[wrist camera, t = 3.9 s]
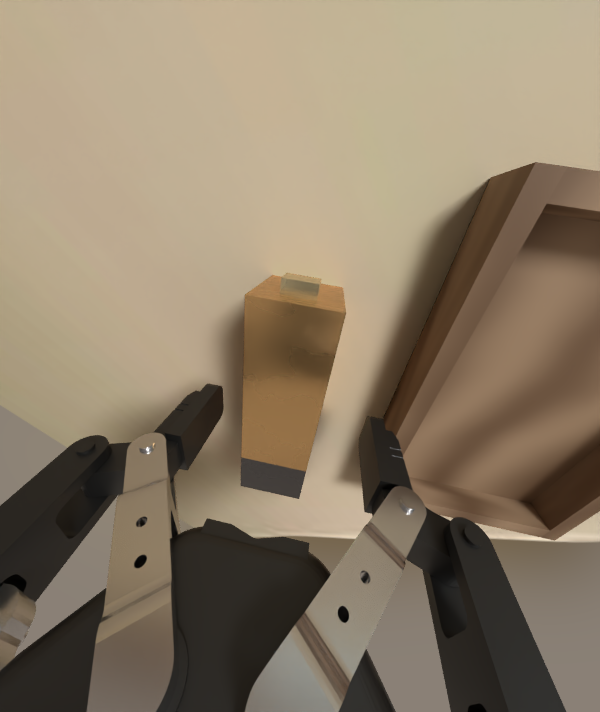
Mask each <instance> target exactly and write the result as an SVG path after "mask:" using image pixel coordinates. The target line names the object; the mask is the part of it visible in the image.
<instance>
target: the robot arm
mask: <svg viewBox="0 0 600 712" xmlns="http://www.w3.org/2000/svg"><path fill="white" fill-rule="evenodd" d="M222 413H223V389H222V386H218V385H213V384H207V385H205V387H204V388H203V389H202V390H201V391H200V392H199V391H195V392H193V393H191V394H190V395H188V396H187V397H186V398H185V399H184V400H183V401H182V402H181V404H179V405H178V406H177V407H176V408H175V410H174V411H173V412H172V413H171V414H170V415H169V416H168V417H167V418H166V419H165V420H164V422H163V423H162V424H161V425H160V426H159V427H158V428H157V429H156V430H155V431H154V432H153V433H147V434H144V435H141V436H140V437H138V438H136V439H135V440H134V441H132V442H130V443H117V444H109V442H108V440H107V438H106V437H104V436H100V435H94V436H89V437H86V438H83V439H80V440H78V441H77V442H75V443H73V444H72V445H71V446H69V447H68V448H67V449H66V450H65V451H64V452H62V453H61V454H60V455H59V456H58V457H57V458H55V459H54V460H53V461H52V462H51V463H50V464H48V465H47V466H46V467H45V468H44V469H43V470H41V471H40V472H39V473H38V474H37V475H36V476H34V477H33V478H32V479H31V480H30V481H29V482H27V483H26V484H25V485H24V486H23V487H22V488H20V489H19V490H18V491H17V492H16V493H15V494H13V495H12V496H11V497H10V498H9V499H8V500H7V501H5V502H4V503H3V504H2V505H1V506H0V712H396V711H395V709H394V707H393V705H392V703H391V701H390V699H389V696H388V694H387V692H386V690H385V688H384V686H383V683H382V682H381V679H380V677H379V675H378V673H377V671H376V668H375V666H374V664H373V662H372V660H371V658H370V656H369V654H368V651H367V649H366V648H367V646H368V643H369V641H370V639H371V637H372V635H373V633H374V631H375V629H376V627H377V625H378V622H379V620H380V618H381V616H382V614H383V612H384V610H385V608H386V606H387V603H388V601H389V599H390V597H391V595H392V593H393V591H394V588H395V587H396V585H397V582H398V580H399V578H400V576H401V574H402V572H403V569H404V567H405V560H406V559H407V560H408V561H410V562H411V563H413V564H415V565H416V566H418V567H419V568H421V569H422V570H423V575H424V579H425V584H426V589H427V594H428V599H429V604H430V609H431V614H432V619H433V624H434V629H435V634H436V639H437V644H438V649H439V654H440V659H441V664H442V669H443V674H444V679H445V684H446V689H447V694H448V699H449V704H450V709H451V712H566V710H565V708H564V706H563V703H562V701H561V699H560V697H559V694H558V692H557V690H556V688H555V685H554V683H553V681H552V679H551V676H550V674H549V672H548V669H547V667H546V665H545V663H544V660H543V659H542V656H541V654H540V651H539V649H538V647H537V645H536V642H535V640H534V638H533V636H532V633H531V631H530V629H529V626H528V624H527V622H526V620H525V617H524V615H523V613H522V611H521V608H520V606H519V604H518V602H517V599H516V597H515V595H514V593H513V590H512V588H511V586H510V583H509V581H508V579H507V577H506V574H505V572H504V570H503V568H502V566H501V563H500V561H499V559H498V556H497V554H496V552H495V550H494V547H493V545H492V543H491V541H490V539H489V538H488V536H487V535H486V534H485V532H484V531H483V530H482V529H481V528H480V527H479V526H478V525H476V524H475V523H473V522H472V521H470V520H468V519H466V518H463V517H455V518H453V519H452V520H451V521H449V520H447V519H446V518H444V517H442V516H440V515H438V514H436V513H434V512H433V511H431V510H429V509H428V508H427V507H425V505H424V503H423V501H422V500H421V498H420V497H419V496H418V495H417V494H416V493H415V492H414V491H413V489H412V486H411V482H410V479H409V475H408V472H407V468H406V465H405V461H404V459H403V454H402V451H401V447H400V444H399V440H398V439H397V437H396V436H395V435H394V433H393V432H392V431H388V430H386V428H385V424H384V420H383V419H380V418H375V417H370V416H368V417H367V419H366V421H365V424H364V427H363V429H362V432H361V435H360V438H359V456H360V467H361V478H362V489H363V500H364V511H365V512H367V513H372V515H373V517H372V518H371V520H370V521H369V523H368V524H366V526H365V527H364V528H363V530H362V531H361V532H360V534H359V535H358V537H357V538H356V540H355V541H354V542H353V544H352V545H351V547H350V548H349V550H348V551H347V552H346V554H345V555H344V557H343V558H342V560H341V561H340V562H339V564H338V565H337V567H336V568H335V570H334V571H333V572H332V574H330V572H329V571H328V569H327V568H326V567H325V566H324V564H323V563H322V562H321V561H320V560H319V559H318V558H316V557H315V556H314V555H313V554H311V553H310V552H308V549H309V543H307V542H303V541H298V540H294V539H290V538H286V537H275V538H261V539H255V538H253V537H251V536H249V535H248V534H246V533H245V532H243V531H241V530H240V529H238V528H237V527H235V526H233V525H232V524H228V523H224V522H220V521H216V520H212V519H206V522H205V524H204V526H203V527H197V528H193V529H190V530H187V531H184V532H182V533H181V532H180V524H179V518H178V508H177V497H176V485H175V474H176V473H177V471H178V470H179V469H183V470H188V469H189V467H190V465H191V464H192V462H193V461H194V459H195V458H196V456H197V454H198V453H199V451H200V450H201V448H202V446H203V445H204V443H205V442H206V440H207V439H208V437H209V435H210V434H211V432H212V431H213V429H214V427H215V426H216V424H217V423H218V421H219V420H220V418H221V416H222ZM117 495H118V498H117V503H116V511H115V519H114V529H113V537H112V545H111V553H110V562H109V570H108V580H107V588H105V589H104V590H103V591H101V592H100V593H99V594H97V595H96V596H95V597H93V598H92V599H91V600H89V601H88V602H87V603H86V604H84V605H83V606H82V607H80V608H79V609H78V610H76V611H75V612H74V613H72V614H71V615H70V616H68V617H67V618H66V619H64V620H63V621H62V622H60V623H59V624H58V625H56V626H55V627H54V628H52V629H51V630H50V631H49V632H47V633H46V634H45V635H43V636H42V637H41V638H39V639H38V640H37V641H35V642H34V643H33V644H31V645H30V646H29V647H27V648H26V649H25V650H23V651H22V652H21V653H20V654H18V655H17V656H16V657H15V653H16V651H17V648H18V647H19V646H20V644H21V643H22V642H23V641H24V639H25V638H26V636H27V633H28V629H29V628H30V626H31V623H32V622H33V619H34V616H35V612H36V605H35V602H36V600H37V599H38V598H39V597H40V595H41V594H42V593H43V591H44V590H45V588H47V586H48V585H49V584H50V582H51V581H52V580H53V578H54V577H55V576H56V574H57V573H58V572H59V571H60V569H61V568H62V567H63V565H64V564H65V563H66V562H67V560H68V559H69V558H70V556H71V555H72V554H73V552H74V551H75V550H76V549H77V547H78V546H79V545H80V543H81V541H83V539H84V538H85V537H86V536H87V534H88V533H89V532H90V530H91V529H92V528H93V527H94V525H95V524H96V523H97V521H98V520H99V518H100V517H101V516H102V515H103V513H104V512H105V511H106V510H107V508H108V507H109V506H110V504H111V503H112V502H113V500H114V499H115V498H116V497H117ZM14 657H15V658H14Z"/></svg>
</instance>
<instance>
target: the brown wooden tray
mask: <svg viewBox="0 0 600 712" xmlns="http://www.w3.org/2000/svg"><path fill="white" fill-rule="evenodd" d="M383 420H384V424H385V428H386V430H388V431H392V432H393V433H394V435H395V436H396V437H397V439H398V440H399V444H400V447H401V451H402V454H403V459H404V461H405V465H406V468H407V472H408V475H409V479H410V482H411V486H412V489H413V491H414V492H415V493H416V494H417V495H418V496H419V497H420V498H421V500H422V501H423V503H424V505H425V507H427V508H428V509H429V510H431V511H433V512H434V513H436V514H438V515H443V516H447V517H452V518H455V517H463V518H466V519H468V520H470V521H472V522H474V523H479V524H483V525H488V526H492V527H497V528H501V529H506V530H510V531H515V532H519V533H524V534H528V535H533V536H537V537H542V538H546V539H551V540H556V539H558V538H559V537H561V536H562V535H564V534H565V533H567V532H568V531H570V530H571V529H573V528H574V527H576V526H578V525H579V524H581V523H582V522H584V521H585V520H587V519H588V518H590V517H591V516H593V515H594V514H596V513H597V512H599V511H600V171H593V170H586V169H579V168H572V167H565V166H559V165H552V164H545V163H538V162H535V163H532V164H529V165H526V166H523V167H520V168H517V169H514V170H511V171H508V172H505V173H503V174H500V175H497V176H494V177H491V178H490V180H489V183H488V185H487V187H486V189H485V192H484V194H483V196H482V198H481V201H480V203H479V205H478V207H477V210H476V212H475V214H474V216H473V219H472V221H471V223H470V225H469V227H468V230H467V232H466V234H465V236H464V239H463V241H462V243H461V245H460V248H459V250H458V252H457V254H456V257H455V259H454V261H453V263H452V266H451V268H450V270H449V272H448V275H447V277H446V279H445V281H444V284H443V286H442V288H441V290H440V292H439V295H438V297H437V299H436V301H435V304H434V306H433V308H432V310H431V313H430V315H429V317H428V319H427V322H426V324H425V326H424V328H423V331H422V333H421V335H420V337H419V340H418V342H417V344H416V346H415V349H414V351H413V353H412V355H411V358H410V360H409V362H408V364H407V366H406V369H405V371H404V373H403V375H402V378H401V380H400V382H399V384H398V387H397V389H396V391H395V393H394V396H393V398H392V400H391V402H390V405H389V407H388V409H387V411H386V414H385V416H384V418H383Z"/></svg>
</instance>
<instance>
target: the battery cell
mask: <svg viewBox="0 0 600 712" xmlns="http://www.w3.org/2000/svg"><path fill="white" fill-rule="evenodd" d="M345 315H346V309H345V301H344V293H343V288H342V287H337V286H331V285H325V284H321V279H319V278H314V277H308V276H302V275H296V274H291V273H286V274H285V275H284V276H283V277H280V276H274V275H272V276H271V277H269V278H268V279H266V280H265V281H264V282H262V283H261V284H259V285H258V286H257V287H255V288H254V289H252V290H251V291H250V292H248V293H247V294H245V314H244V360H243V406H242V453H241V486H244V487H248V488H253V489H257V490H262V491H266V492H271V493H275V494H280V495H284V496H288V497H293V498H297V499H299V497H300V493H301V489H302V485H303V481H304V477H305V473H306V469H307V465H308V461H309V457H310V453H311V449H312V445H313V441H314V437H315V434H316V430H317V426H318V422H319V418H320V414H321V410H322V406H323V402H324V398H325V394H326V390H327V386H328V382H329V378H330V374H331V370H332V366H333V362H334V358H335V354H336V351H337V347H338V343H339V339H340V335H341V331H342V327H343V323H344V319H345Z"/></svg>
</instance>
